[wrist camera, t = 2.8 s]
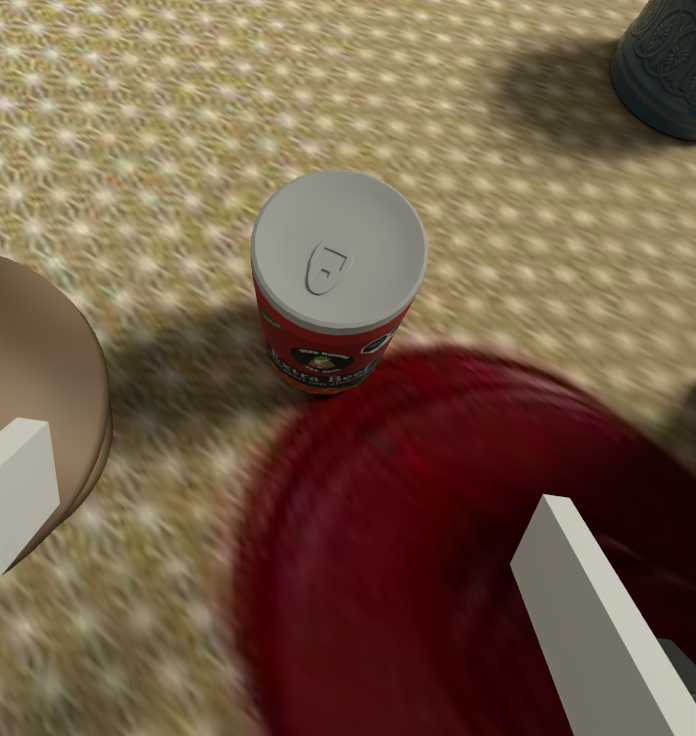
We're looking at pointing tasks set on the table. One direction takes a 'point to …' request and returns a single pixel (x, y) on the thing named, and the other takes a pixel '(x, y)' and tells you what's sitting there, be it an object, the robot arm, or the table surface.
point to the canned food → (334, 276)
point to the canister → (660, 67)
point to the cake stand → (54, 384)
